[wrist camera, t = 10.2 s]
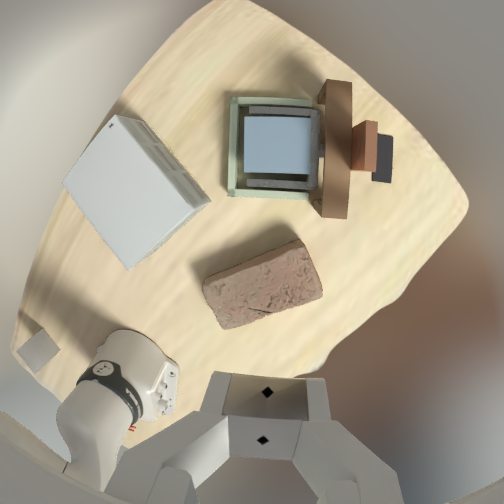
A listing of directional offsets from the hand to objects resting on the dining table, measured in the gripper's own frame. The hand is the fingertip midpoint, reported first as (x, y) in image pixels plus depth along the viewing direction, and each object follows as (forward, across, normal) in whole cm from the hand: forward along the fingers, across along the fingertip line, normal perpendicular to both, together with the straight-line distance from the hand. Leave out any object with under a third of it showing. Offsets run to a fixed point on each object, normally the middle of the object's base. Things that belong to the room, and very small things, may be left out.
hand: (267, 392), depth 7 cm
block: (+35, -1, +9) cm, 36 cm away
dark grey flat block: (+35, +15, +9) cm, 39 cm away
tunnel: (+35, +6, +9) cm, 37 cm away
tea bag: (+35, -52, -32) cm, 71 cm away
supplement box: (+36, -20, +3) cm, 41 cm away
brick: (+36, -2, -11) cm, 37 cm away
